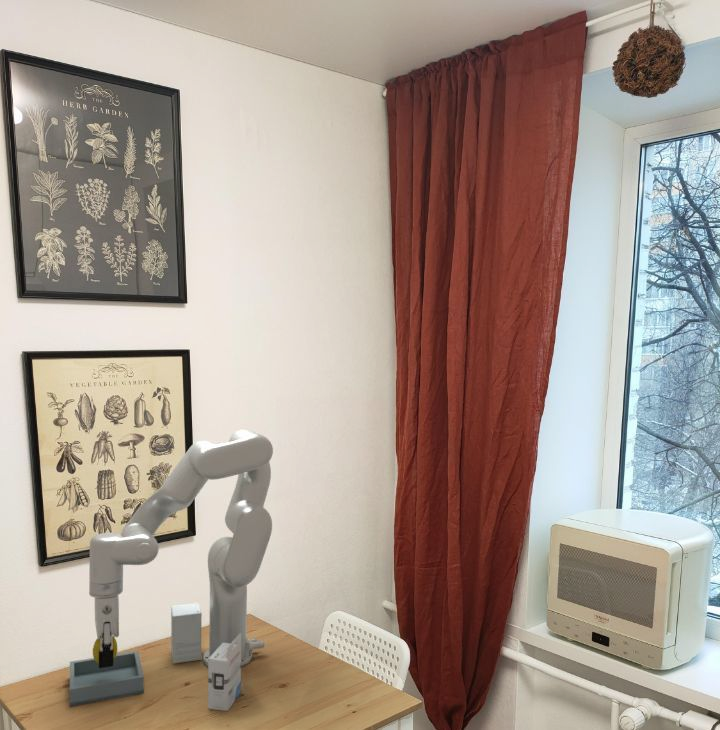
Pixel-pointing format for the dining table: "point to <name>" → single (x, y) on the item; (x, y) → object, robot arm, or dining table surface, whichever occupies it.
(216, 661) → the ink box
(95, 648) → the lemon
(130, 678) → the walled box
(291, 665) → the dining table surface
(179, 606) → the supplement box
